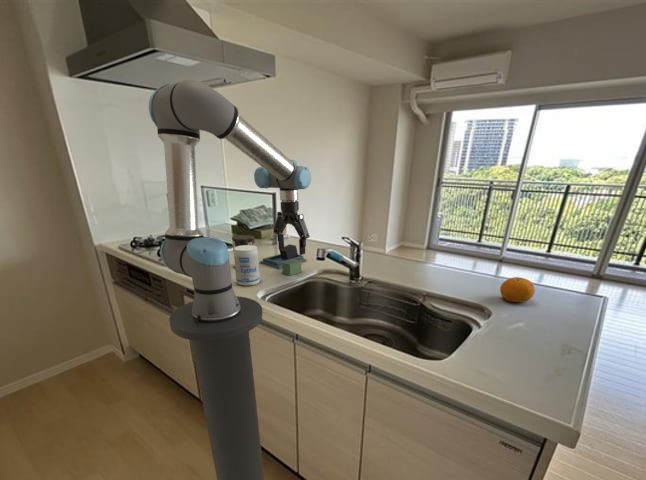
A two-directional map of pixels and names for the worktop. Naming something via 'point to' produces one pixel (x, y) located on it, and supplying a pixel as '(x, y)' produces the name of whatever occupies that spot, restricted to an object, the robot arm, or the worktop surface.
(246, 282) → the supplement tub
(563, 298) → the worktop surface
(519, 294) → the fruit
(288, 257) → the charcoal block
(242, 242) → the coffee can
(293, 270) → the sage pad
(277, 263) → the blue tray
